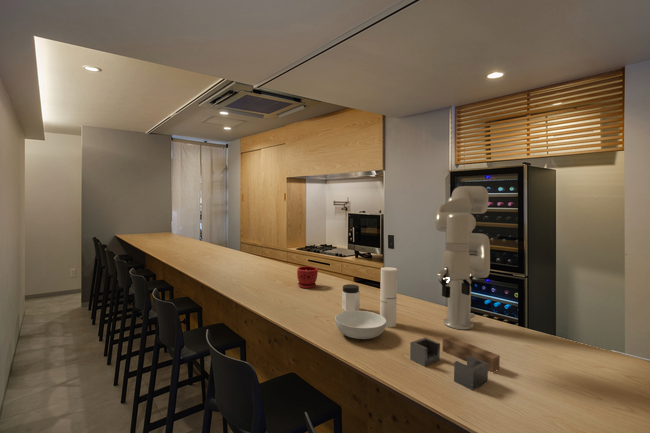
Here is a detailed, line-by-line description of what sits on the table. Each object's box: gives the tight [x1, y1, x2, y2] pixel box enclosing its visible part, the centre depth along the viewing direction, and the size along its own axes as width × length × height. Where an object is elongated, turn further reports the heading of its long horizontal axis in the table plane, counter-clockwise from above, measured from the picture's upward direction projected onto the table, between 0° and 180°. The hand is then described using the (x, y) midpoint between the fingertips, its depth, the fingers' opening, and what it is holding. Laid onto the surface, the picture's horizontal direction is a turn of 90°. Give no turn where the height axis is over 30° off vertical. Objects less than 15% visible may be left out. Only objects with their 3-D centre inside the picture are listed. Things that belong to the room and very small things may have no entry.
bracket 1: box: [409, 337, 441, 367], centre depth 117 cm, size 6×8×6 cm
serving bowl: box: [334, 310, 386, 340], centre depth 139 cm, size 21×21×7 cm
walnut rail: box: [442, 335, 501, 373], centre depth 117 cm, size 19×4×5 cm, turn 34°
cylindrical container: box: [379, 266, 398, 328], centre depth 150 cm, size 7×7×25 cm
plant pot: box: [296, 265, 319, 289], centre depth 216 cm, size 13×13×12 cm
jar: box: [341, 283, 361, 312], centre depth 170 cm, size 9×8×12 cm
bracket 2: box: [453, 356, 489, 391], centre depth 103 cm, size 6×8×6 cm
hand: (455, 295), depth 121 cm, fingers open, 9 cm apart
